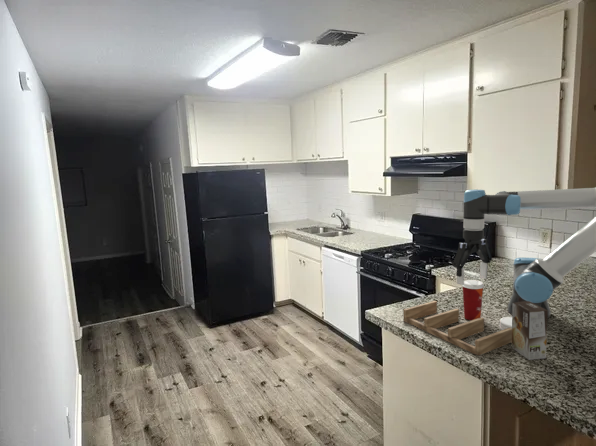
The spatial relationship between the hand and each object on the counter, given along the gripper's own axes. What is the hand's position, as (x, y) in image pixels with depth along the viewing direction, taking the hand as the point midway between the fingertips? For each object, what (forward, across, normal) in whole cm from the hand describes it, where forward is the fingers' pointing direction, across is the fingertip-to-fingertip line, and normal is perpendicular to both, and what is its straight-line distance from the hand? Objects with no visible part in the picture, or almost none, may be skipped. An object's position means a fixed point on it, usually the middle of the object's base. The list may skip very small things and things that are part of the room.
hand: (472, 281), depth 155 cm
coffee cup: (+16, 0, 0) cm, 16 cm away
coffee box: (+16, +10, +29) cm, 35 cm away
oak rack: (+16, +16, +5) cm, 23 cm away
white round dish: (+16, -3, +16) cm, 23 cm away
